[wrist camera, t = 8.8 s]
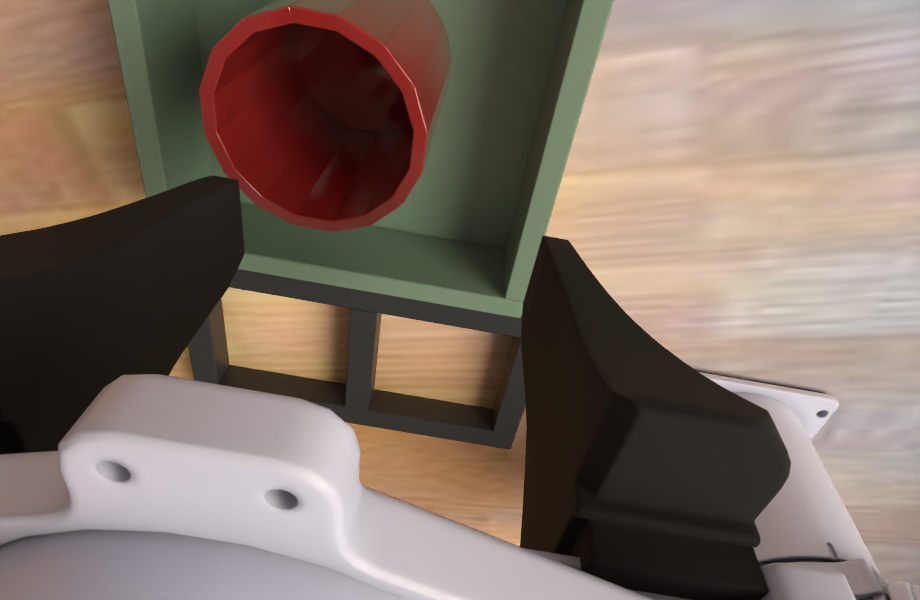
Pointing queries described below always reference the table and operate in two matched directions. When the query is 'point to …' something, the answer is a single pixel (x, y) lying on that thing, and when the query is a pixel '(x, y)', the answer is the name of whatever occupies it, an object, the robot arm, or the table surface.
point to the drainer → (371, 365)
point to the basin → (448, 161)
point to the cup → (327, 106)
